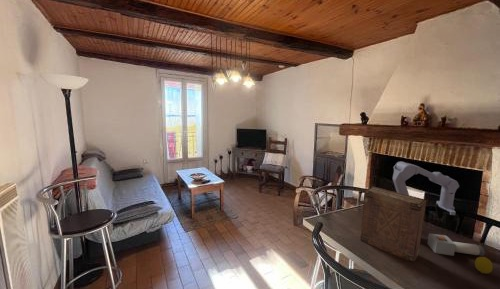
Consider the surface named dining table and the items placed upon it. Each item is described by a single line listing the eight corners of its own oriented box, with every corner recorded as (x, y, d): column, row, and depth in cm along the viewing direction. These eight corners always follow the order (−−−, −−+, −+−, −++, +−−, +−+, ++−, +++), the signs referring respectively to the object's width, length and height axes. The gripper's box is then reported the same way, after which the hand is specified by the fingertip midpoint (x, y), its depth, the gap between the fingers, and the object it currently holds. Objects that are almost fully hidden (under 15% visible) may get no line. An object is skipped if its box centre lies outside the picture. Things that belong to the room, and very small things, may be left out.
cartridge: (452, 253, 113) (453, 244, 112) (446, 247, 118) (447, 239, 117) (483, 258, 110) (485, 248, 109) (476, 251, 114) (478, 243, 114)
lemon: (469, 269, 102) (472, 253, 101) (480, 268, 103) (483, 252, 102) (483, 278, 97) (486, 261, 96) (494, 277, 97) (498, 261, 96)
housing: (435, 253, 114) (436, 241, 113) (427, 243, 121) (428, 233, 120) (453, 255, 112) (455, 244, 111) (444, 246, 119) (446, 235, 118)
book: (359, 240, 125) (364, 189, 120) (366, 234, 131) (371, 185, 126) (413, 263, 106) (421, 204, 101) (418, 255, 112) (426, 199, 107)
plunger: (439, 241, 115) (440, 238, 114) (436, 237, 117) (436, 235, 117) (446, 242, 114) (447, 239, 114) (443, 238, 117) (443, 236, 116)
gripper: (463, 204, 116) (460, 228, 118) (447, 194, 130) (444, 216, 132) (447, 203, 118) (444, 226, 120) (433, 193, 132) (430, 214, 134)
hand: (443, 221), depth 126 cm, fingers open, 7 cm apart
